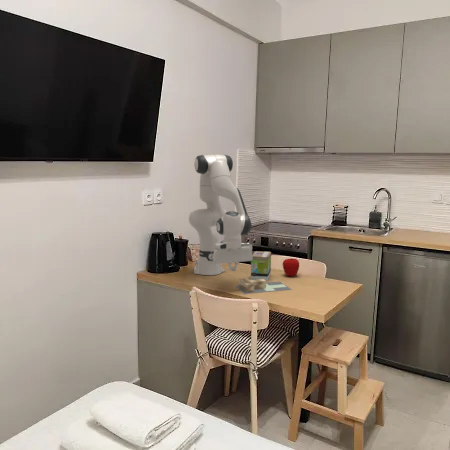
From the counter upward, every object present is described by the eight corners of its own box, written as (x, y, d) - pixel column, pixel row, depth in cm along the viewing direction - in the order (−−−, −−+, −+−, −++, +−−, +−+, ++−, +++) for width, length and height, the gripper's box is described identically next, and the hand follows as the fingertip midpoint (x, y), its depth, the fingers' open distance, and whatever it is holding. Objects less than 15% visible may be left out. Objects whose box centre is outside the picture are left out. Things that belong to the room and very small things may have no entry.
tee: (246, 292, 212) (246, 284, 211) (239, 286, 223) (239, 278, 223) (268, 290, 215) (268, 283, 215) (260, 284, 227) (260, 277, 226)
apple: (294, 273, 252) (294, 255, 251) (302, 277, 243) (302, 258, 242) (279, 274, 249) (279, 256, 248) (286, 278, 240) (287, 260, 239)
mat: (234, 286, 225) (234, 285, 225) (279, 282, 232) (279, 281, 232) (244, 295, 210) (244, 294, 209) (292, 291, 216) (292, 289, 216)
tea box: (268, 282, 232) (268, 256, 230) (250, 282, 234) (250, 256, 232) (271, 275, 247) (271, 251, 245) (254, 275, 249) (254, 250, 247)
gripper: (250, 241, 218) (250, 267, 220) (211, 244, 213) (212, 270, 215) (254, 243, 212) (254, 270, 214) (215, 246, 207) (215, 273, 209)
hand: (233, 270), depth 214 cm, fingers closed
